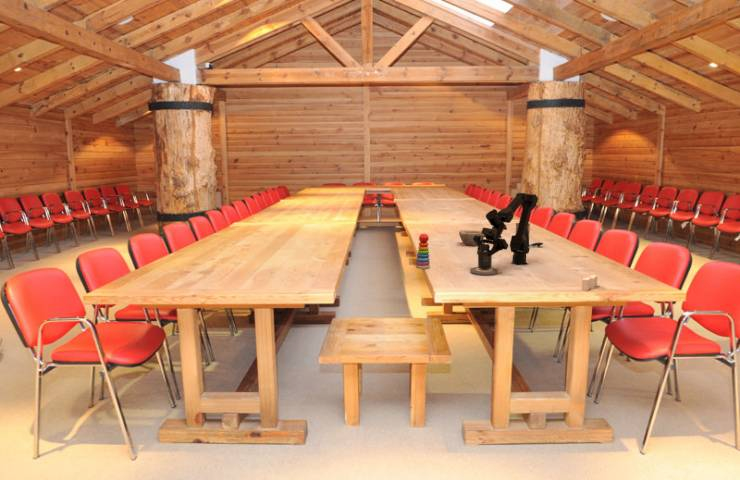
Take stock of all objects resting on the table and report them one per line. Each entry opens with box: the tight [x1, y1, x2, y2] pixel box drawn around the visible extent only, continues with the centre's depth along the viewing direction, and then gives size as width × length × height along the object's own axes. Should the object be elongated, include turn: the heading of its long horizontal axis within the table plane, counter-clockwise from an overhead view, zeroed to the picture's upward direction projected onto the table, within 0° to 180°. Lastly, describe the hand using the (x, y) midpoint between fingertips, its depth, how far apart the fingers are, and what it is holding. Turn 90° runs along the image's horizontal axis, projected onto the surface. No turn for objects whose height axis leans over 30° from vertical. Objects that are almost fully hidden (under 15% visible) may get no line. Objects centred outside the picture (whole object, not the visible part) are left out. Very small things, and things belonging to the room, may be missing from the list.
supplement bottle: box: [477, 243, 493, 269], centre depth 279 cm, size 7×7×12 cm
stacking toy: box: [414, 232, 431, 270], centre depth 291 cm, size 8×8×19 cm
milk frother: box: [515, 222, 544, 248], centre depth 353 cm, size 14×16×15 cm
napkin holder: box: [581, 274, 598, 292], centre depth 248 cm, size 15×11×6 cm
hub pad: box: [469, 266, 499, 277], centre depth 280 cm, size 14×14×2 cm
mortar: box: [458, 229, 485, 247], centre depth 360 cm, size 17×17×9 cm
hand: (483, 255), depth 278 cm, fingers closed on supplement bottle, 7 cm apart
